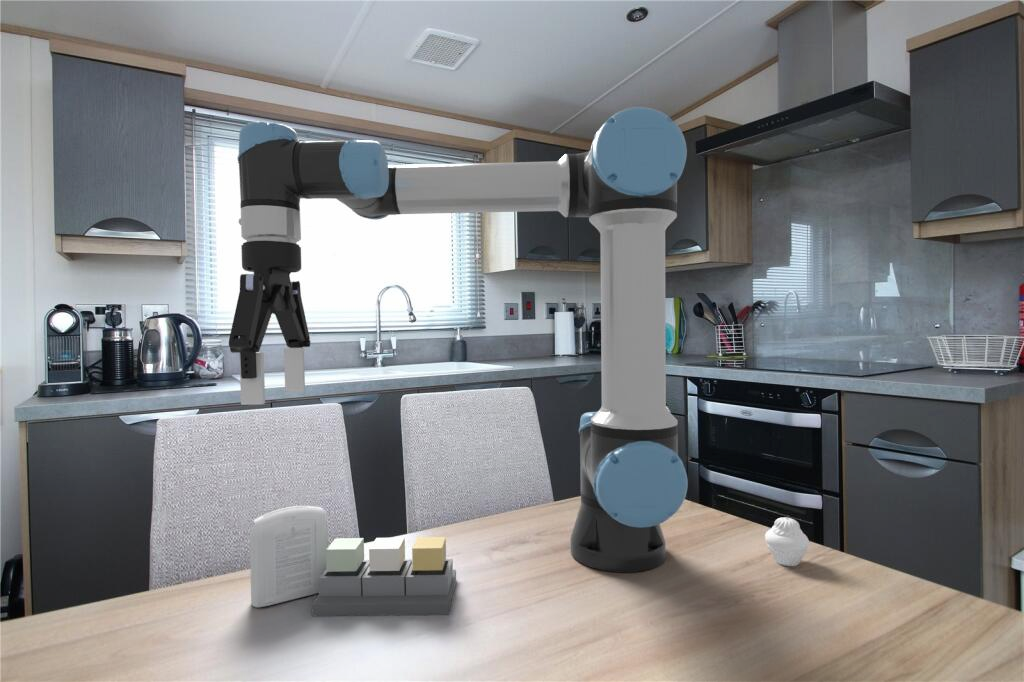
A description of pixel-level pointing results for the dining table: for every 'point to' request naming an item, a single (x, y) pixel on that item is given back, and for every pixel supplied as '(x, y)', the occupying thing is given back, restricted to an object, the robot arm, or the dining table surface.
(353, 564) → the key sage
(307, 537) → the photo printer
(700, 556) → the dining table surface
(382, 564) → the key ivory
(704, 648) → the dining table surface
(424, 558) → the key ochre
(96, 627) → the dining table surface
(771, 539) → the muffin
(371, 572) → the keypad
